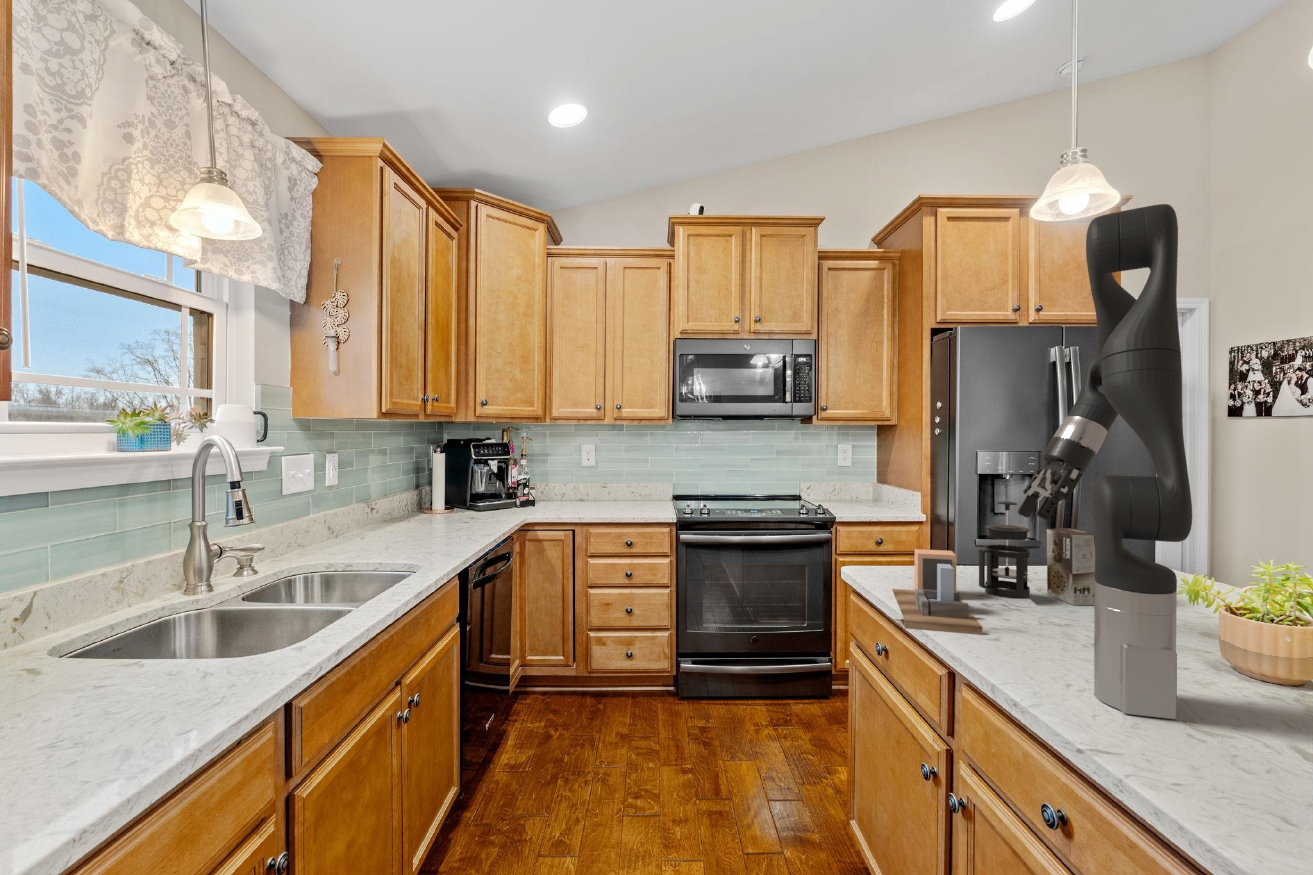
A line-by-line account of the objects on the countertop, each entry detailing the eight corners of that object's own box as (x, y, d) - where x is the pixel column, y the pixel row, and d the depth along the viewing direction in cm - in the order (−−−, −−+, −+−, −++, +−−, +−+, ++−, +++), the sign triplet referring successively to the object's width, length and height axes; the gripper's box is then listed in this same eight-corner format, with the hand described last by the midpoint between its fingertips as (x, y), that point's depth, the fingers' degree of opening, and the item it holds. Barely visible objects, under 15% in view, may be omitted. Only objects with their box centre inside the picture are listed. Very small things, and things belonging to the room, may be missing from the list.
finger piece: (963, 615, 119) (963, 569, 119) (931, 612, 121) (931, 567, 121) (958, 608, 124) (958, 564, 124) (927, 605, 125) (927, 562, 125)
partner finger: (956, 600, 129) (956, 555, 129) (918, 597, 132) (918, 553, 132) (951, 593, 135) (951, 550, 135) (914, 590, 137) (914, 549, 137)
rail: (982, 634, 112) (982, 611, 112) (904, 627, 116) (904, 605, 116) (955, 599, 135) (955, 580, 135) (891, 594, 139) (891, 576, 139)
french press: (1014, 593, 140) (1015, 498, 140) (1043, 604, 131) (1043, 503, 130) (968, 594, 139) (968, 499, 139) (994, 606, 130) (994, 504, 129)
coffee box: (1100, 605, 130) (1101, 534, 130) (1072, 605, 130) (1072, 534, 130) (1072, 593, 139) (1072, 527, 139) (1045, 594, 139) (1045, 527, 139)
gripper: (1039, 438, 119) (999, 505, 120) (1073, 431, 105) (1028, 507, 106) (1075, 456, 118) (1034, 524, 118) (1115, 451, 104) (1069, 529, 104)
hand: (1031, 516), depth 112 cm, fingers open, 8 cm apart
